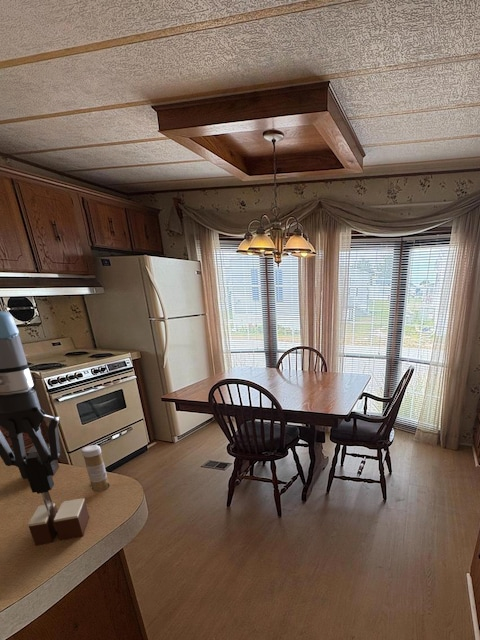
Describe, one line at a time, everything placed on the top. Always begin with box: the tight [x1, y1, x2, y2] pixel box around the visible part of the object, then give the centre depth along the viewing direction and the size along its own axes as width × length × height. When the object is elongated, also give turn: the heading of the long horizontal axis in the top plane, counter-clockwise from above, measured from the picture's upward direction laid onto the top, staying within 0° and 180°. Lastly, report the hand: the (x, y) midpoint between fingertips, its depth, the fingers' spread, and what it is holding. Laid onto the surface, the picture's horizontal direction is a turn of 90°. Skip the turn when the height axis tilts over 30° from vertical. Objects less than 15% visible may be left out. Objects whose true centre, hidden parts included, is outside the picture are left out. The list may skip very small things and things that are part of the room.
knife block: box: [26, 443, 60, 476], centre depth 105 cm, size 6×5×10 cm
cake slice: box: [27, 502, 58, 546], centre depth 82 cm, size 8×3×6 cm, turn 23°
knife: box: [25, 453, 57, 533], centre depth 80 cm, size 3×2×20 cm, turn 23°
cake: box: [54, 497, 90, 541], centre depth 84 cm, size 8×5×6 cm, turn 23°
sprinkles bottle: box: [81, 444, 110, 492], centre depth 100 cm, size 5×5×14 cm
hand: (43, 488), depth 79 cm, fingers closed on knife, 2 cm apart
